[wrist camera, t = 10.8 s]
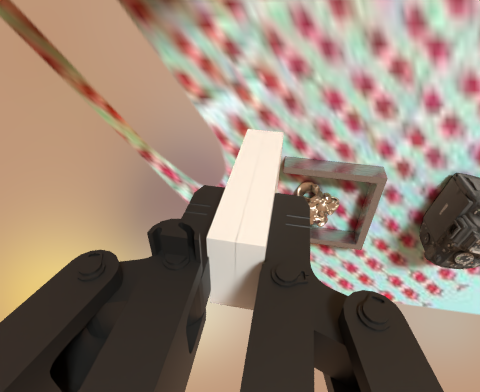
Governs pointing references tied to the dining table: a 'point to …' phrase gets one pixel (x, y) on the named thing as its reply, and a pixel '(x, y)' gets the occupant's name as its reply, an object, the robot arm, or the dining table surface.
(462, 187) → the camera
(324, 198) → the ornament
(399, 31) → the dining table surface
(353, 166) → the frame
